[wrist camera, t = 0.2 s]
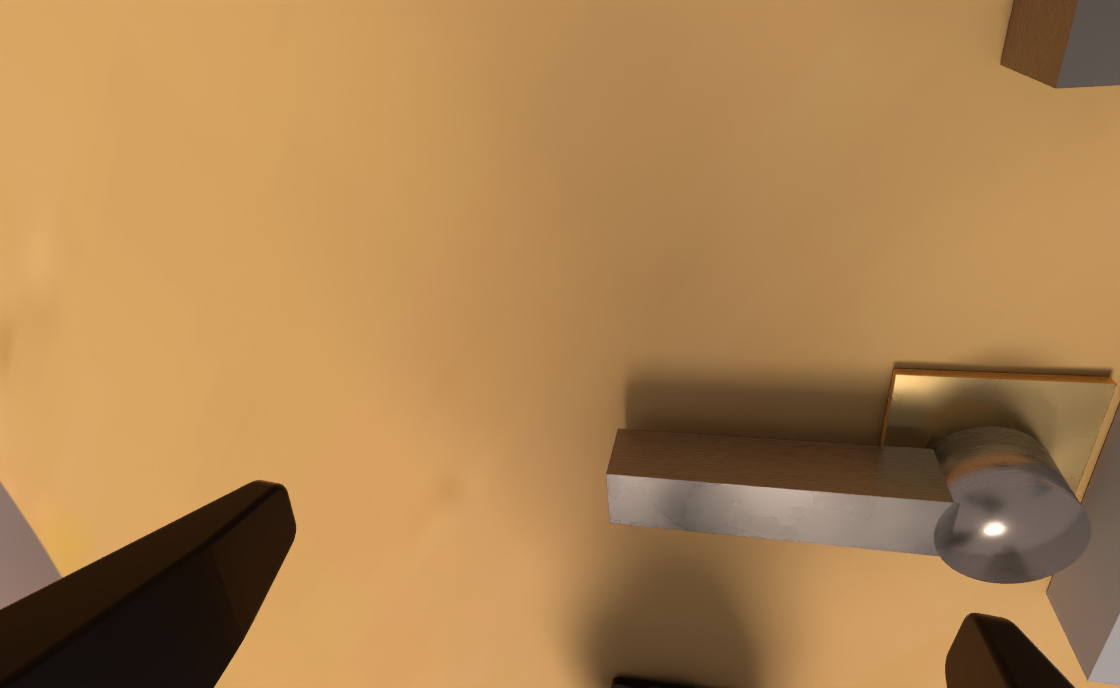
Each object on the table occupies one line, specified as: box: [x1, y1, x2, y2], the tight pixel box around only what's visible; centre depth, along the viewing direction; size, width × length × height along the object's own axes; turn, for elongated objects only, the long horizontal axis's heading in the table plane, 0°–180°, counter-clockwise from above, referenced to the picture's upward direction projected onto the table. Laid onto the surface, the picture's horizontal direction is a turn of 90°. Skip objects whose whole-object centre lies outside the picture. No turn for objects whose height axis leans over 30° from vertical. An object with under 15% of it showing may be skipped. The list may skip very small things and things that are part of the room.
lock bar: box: [606, 426, 1091, 584], centre depth 22 cm, size 14×4×3 cm, turn 96°
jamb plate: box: [880, 368, 1117, 494], centre depth 22 cm, size 7×6×1 cm
